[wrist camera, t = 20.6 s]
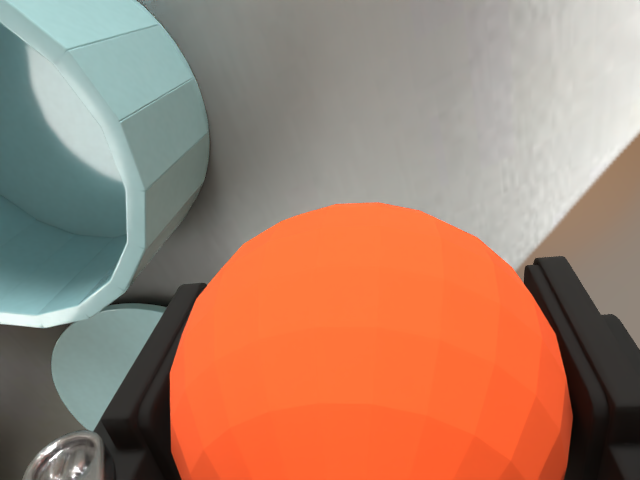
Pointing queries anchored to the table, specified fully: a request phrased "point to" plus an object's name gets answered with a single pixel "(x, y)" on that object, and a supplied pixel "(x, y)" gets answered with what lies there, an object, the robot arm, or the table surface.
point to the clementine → (368, 358)
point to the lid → (100, 357)
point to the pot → (90, 153)
